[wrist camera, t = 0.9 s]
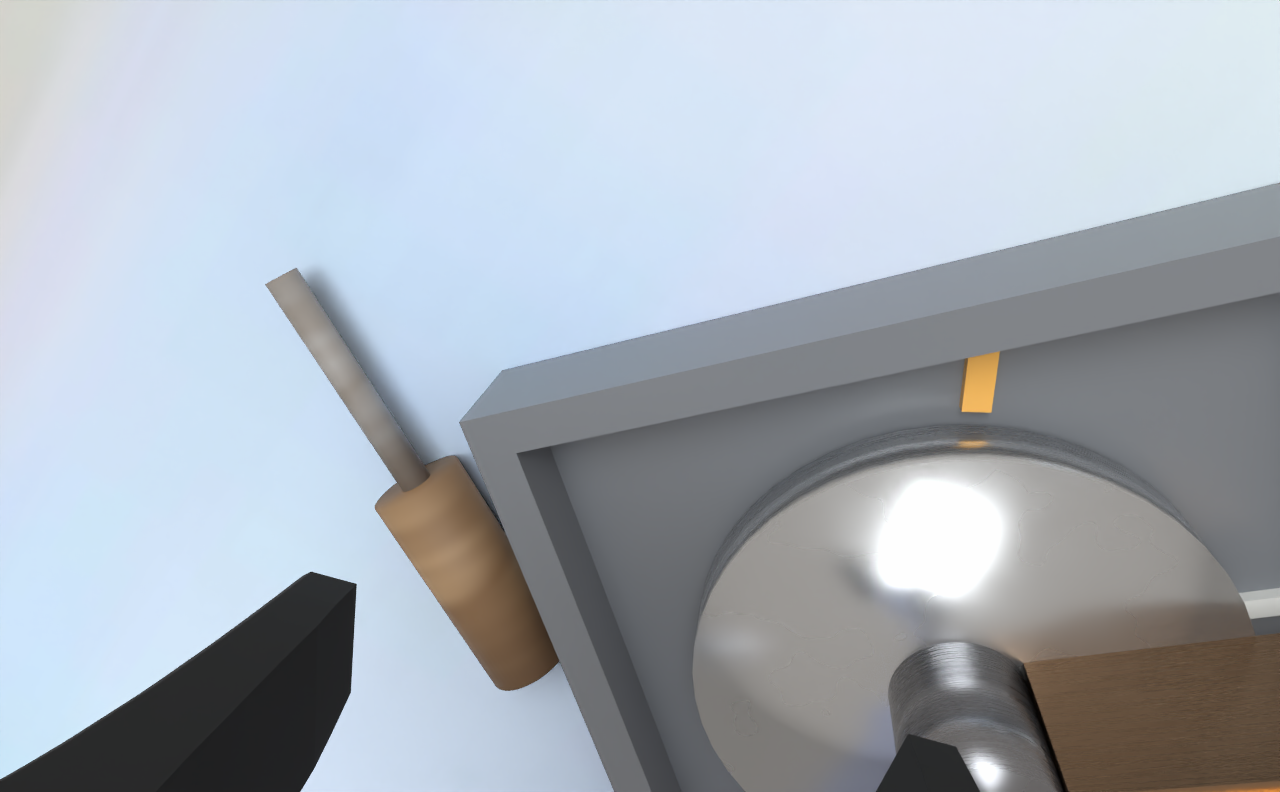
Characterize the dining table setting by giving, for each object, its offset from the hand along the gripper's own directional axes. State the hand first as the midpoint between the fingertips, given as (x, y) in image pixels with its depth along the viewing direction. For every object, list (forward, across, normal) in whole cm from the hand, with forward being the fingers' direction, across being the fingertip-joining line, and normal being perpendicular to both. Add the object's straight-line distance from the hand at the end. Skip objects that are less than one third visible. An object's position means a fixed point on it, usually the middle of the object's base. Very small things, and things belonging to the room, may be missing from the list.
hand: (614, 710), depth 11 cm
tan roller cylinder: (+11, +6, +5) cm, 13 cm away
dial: (+9, -8, +5) cm, 13 cm away
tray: (+10, -8, +5) cm, 14 cm away
